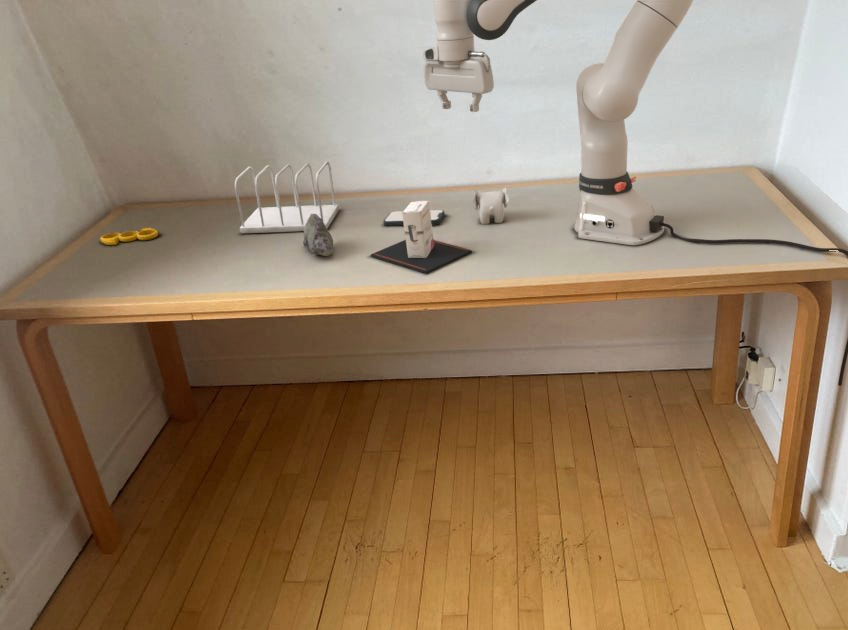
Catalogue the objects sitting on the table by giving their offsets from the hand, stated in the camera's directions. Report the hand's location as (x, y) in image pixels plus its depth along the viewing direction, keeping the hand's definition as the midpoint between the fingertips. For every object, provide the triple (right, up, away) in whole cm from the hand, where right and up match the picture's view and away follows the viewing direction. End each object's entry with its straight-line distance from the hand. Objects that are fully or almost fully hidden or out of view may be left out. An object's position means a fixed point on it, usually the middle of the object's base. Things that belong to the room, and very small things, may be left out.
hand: (460, 110), depth 192 cm
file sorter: (-48, -22, +32) cm, 62 cm away
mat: (-10, -36, +1) cm, 37 cm away
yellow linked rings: (-94, -27, +32) cm, 103 cm away
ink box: (-10, -35, +1) cm, 37 cm away
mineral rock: (-37, -35, +8) cm, 51 cm away
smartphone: (-12, -23, +24) cm, 36 cm away
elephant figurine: (+9, -24, +19) cm, 32 cm away
